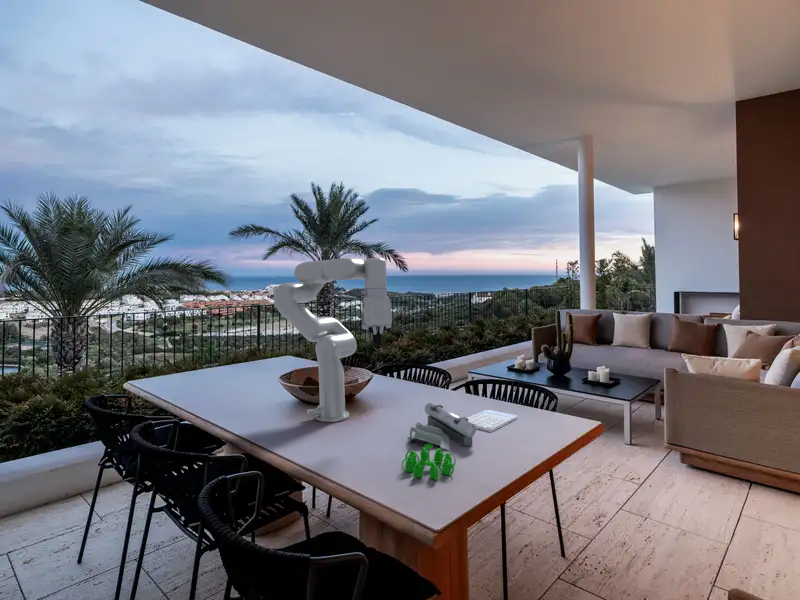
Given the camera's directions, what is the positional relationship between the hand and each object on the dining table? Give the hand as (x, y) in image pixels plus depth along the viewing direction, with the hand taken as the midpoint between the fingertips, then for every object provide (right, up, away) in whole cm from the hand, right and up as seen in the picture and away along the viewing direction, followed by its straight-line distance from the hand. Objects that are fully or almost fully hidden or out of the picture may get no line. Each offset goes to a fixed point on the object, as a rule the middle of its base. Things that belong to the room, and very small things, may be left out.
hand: (377, 345), depth 152 cm
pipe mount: (+24, -29, -8) cm, 39 cm away
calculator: (+41, -29, +5) cm, 50 cm away
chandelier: (+16, -31, -35) cm, 49 cm away
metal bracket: (+18, -30, -14) cm, 38 cm away
